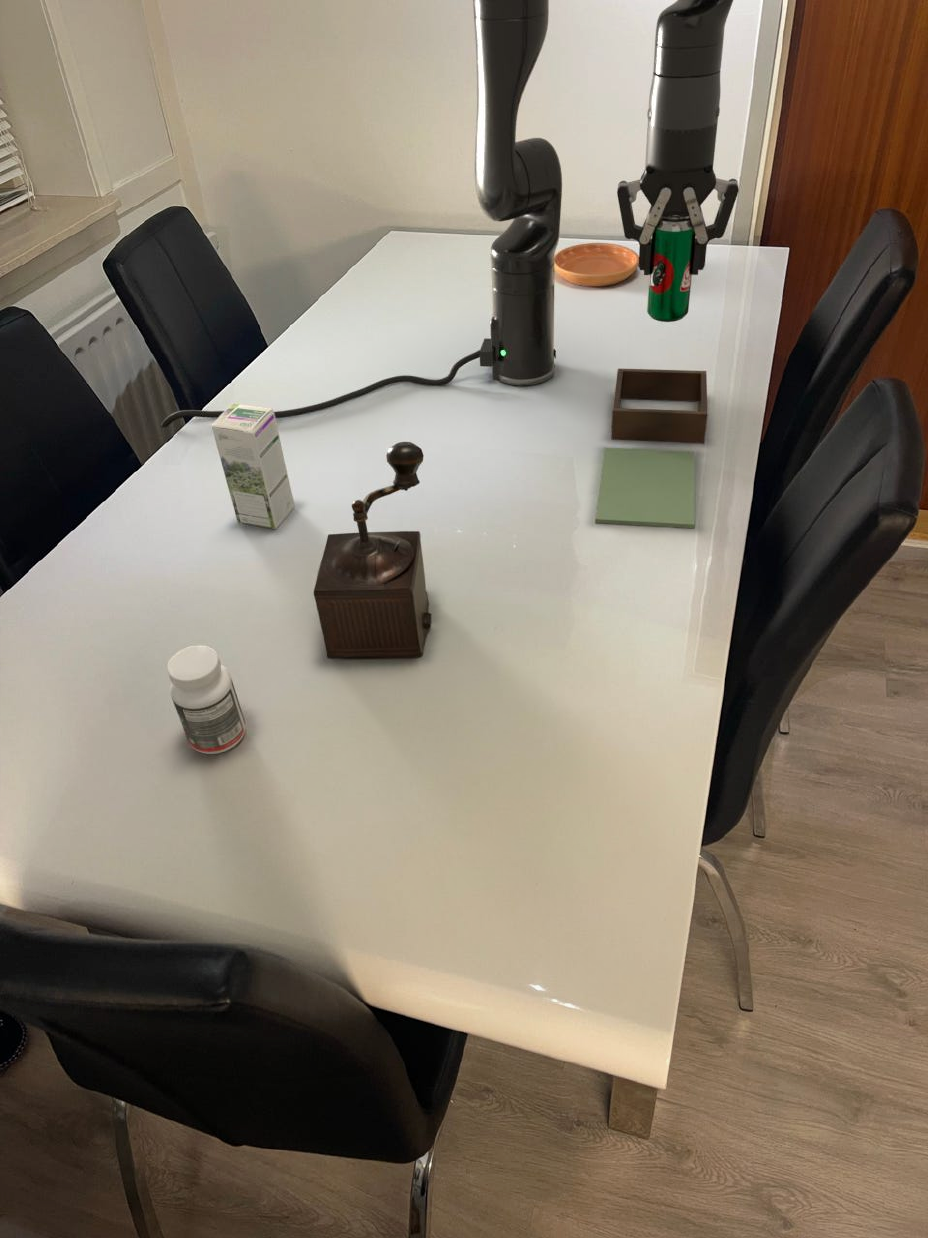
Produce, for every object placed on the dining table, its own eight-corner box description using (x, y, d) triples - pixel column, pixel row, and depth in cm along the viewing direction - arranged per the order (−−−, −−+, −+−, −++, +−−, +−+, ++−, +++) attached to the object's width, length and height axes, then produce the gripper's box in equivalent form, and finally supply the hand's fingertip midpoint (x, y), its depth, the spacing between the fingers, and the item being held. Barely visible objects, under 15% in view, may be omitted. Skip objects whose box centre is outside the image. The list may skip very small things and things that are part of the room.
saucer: (643, 287, 169) (644, 271, 167) (555, 292, 170) (555, 276, 168) (632, 255, 181) (633, 240, 179) (550, 260, 182) (550, 244, 180)
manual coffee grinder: (428, 659, 99) (412, 518, 87) (325, 660, 99) (295, 521, 88) (437, 568, 110) (424, 433, 99) (345, 570, 111) (321, 436, 99)
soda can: (687, 324, 114) (697, 222, 107) (645, 323, 115) (652, 222, 108) (688, 307, 118) (697, 208, 110) (647, 306, 119) (654, 208, 111)
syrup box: (296, 506, 122) (275, 405, 113) (275, 531, 118) (251, 429, 109) (258, 500, 124) (234, 400, 114) (235, 525, 120) (209, 424, 110)
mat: (594, 522, 116) (595, 518, 115) (604, 451, 128) (604, 447, 128) (694, 528, 113) (695, 524, 113) (694, 455, 126) (694, 451, 126)
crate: (611, 439, 130) (612, 410, 127) (616, 396, 140) (617, 368, 137) (703, 443, 128) (707, 413, 125) (703, 399, 137) (706, 370, 134)
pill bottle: (192, 716, 94) (166, 643, 88) (249, 710, 95) (227, 637, 88) (185, 759, 90) (156, 686, 84) (244, 753, 90) (220, 680, 84)
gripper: (748, 107, 104) (730, 261, 115) (618, 111, 106) (612, 261, 117) (752, 124, 98) (732, 284, 109) (614, 128, 101) (609, 284, 112)
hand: (670, 271), depth 113 cm, fingers closed on soda can, 5 cm apart
